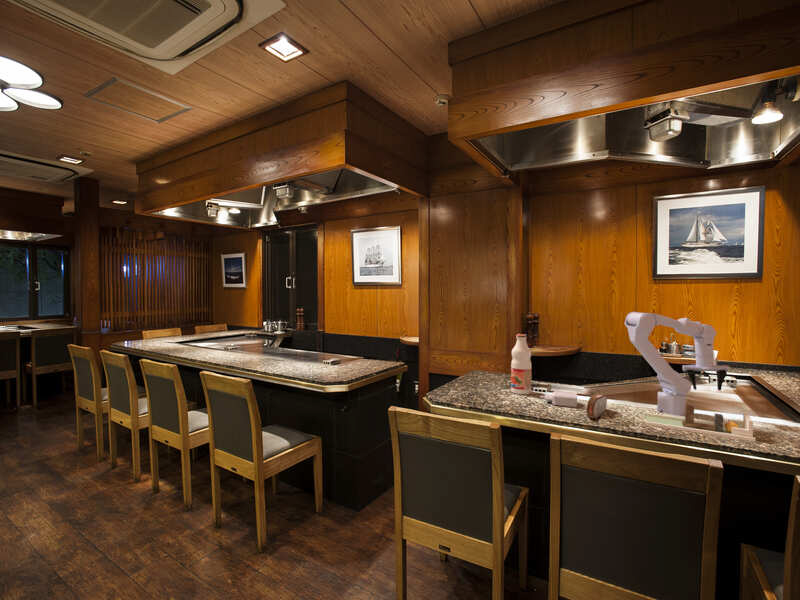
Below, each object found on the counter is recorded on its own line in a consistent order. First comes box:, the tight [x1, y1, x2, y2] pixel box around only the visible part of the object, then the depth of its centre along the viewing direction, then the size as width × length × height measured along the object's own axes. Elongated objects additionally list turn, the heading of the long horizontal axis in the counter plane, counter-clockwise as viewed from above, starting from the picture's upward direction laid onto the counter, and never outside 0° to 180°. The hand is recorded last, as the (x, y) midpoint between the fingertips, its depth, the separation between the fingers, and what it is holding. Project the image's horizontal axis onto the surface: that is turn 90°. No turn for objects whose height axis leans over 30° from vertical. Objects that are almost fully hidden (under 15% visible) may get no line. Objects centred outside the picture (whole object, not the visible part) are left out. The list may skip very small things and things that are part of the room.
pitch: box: [644, 412, 756, 443], centre depth 138 cm, size 30×13×8 cm, turn 56°
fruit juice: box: [510, 333, 532, 395], centre depth 192 cm, size 9×9×28 cm
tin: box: [586, 392, 608, 420], centre depth 155 cm, size 15×3×8 cm, turn 134°
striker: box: [682, 402, 724, 432], centre depth 137 cm, size 11×4×7 cm, turn 56°
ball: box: [724, 421, 739, 433], centre depth 133 cm, size 4×4×4 cm
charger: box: [539, 390, 578, 409], centre depth 174 cm, size 5×9×15 cm
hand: (707, 389), depth 156 cm, fingers open, 7 cm apart
